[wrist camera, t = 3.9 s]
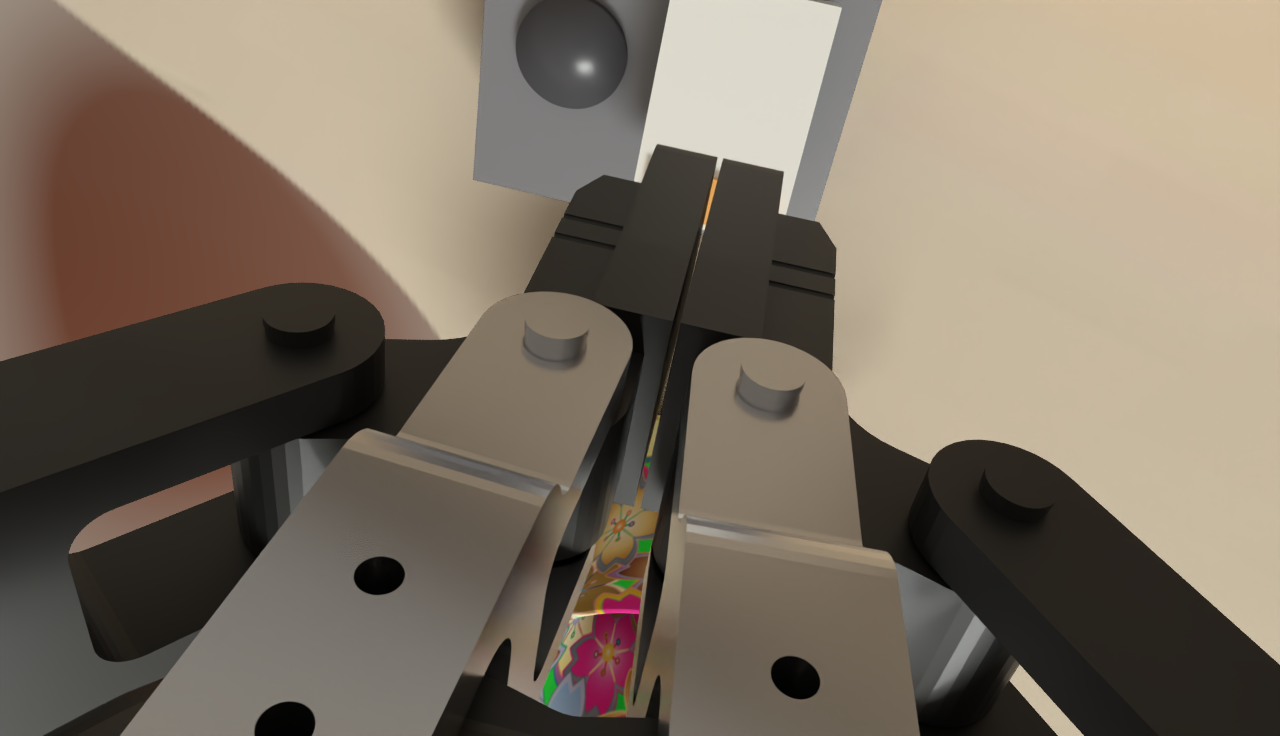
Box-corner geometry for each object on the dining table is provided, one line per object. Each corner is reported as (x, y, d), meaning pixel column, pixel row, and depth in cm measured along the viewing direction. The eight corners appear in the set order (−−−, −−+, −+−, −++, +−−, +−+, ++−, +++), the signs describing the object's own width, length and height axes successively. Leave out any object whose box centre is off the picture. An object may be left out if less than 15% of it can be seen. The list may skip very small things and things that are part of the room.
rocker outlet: (680, -32, 25) (675, -30, 23) (839, 3, 24) (842, 8, 23) (634, 200, 27) (626, 213, 26) (777, 233, 27) (777, 249, 26)
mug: (616, 568, 44) (558, 786, 36) (551, 405, 40) (466, 613, 31) (891, 552, 41) (898, 789, 32) (857, 370, 36) (855, 595, 28)
